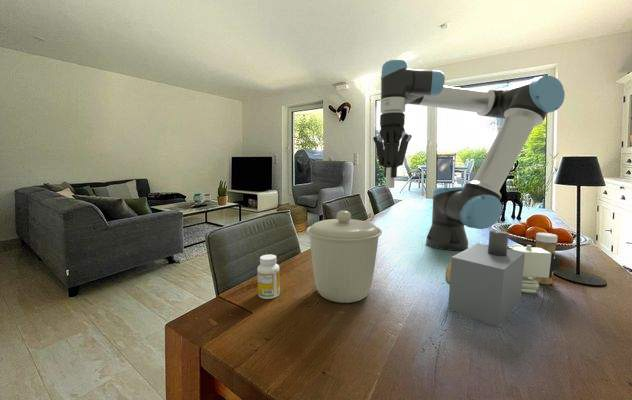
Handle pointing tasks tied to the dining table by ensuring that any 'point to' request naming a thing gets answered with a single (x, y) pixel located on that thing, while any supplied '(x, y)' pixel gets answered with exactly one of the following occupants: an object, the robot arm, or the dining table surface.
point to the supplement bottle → (268, 277)
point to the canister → (343, 257)
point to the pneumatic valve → (536, 266)
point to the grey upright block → (498, 243)
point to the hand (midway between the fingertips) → (389, 187)
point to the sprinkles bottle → (549, 244)
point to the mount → (486, 283)
